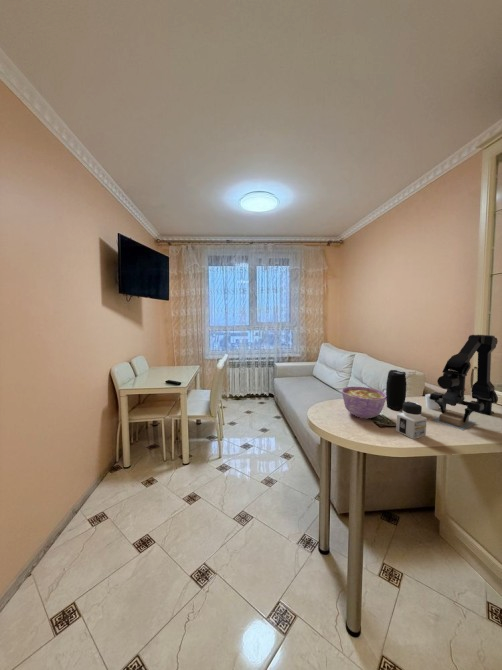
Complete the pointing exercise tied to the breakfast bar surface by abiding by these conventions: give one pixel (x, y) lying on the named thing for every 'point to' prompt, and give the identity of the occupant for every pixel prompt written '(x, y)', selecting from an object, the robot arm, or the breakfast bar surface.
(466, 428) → the rubber mat
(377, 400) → the bowl of food
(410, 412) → the container
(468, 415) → the robot arm
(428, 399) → the white cup
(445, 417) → the brown rectangular block
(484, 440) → the breakfast bar surface
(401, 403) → the portable speaker
